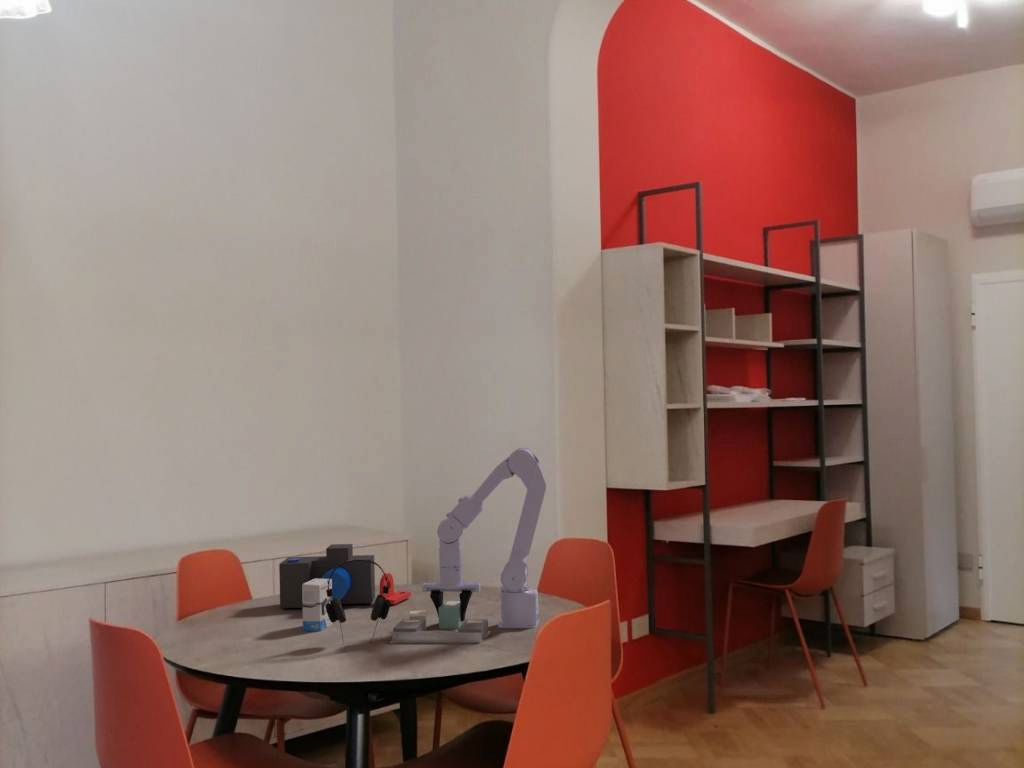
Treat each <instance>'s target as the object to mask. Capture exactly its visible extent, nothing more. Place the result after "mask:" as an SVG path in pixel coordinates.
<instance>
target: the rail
mask: <svg viewBox="0 0 1024 768" xmlns="http://www.w3.org/2000/svg"><path fill="white" fill-rule="evenodd" d="M455 631H456V630H440V631H393V630H392V631H391V641H392V642H411V644H412V643H417V644H418V643H421V644H422V643H425V644H427V643H429V644H431V643H433V644H434V643H438V644H440V643H442V644H443V643H444V644H447V643H450V644H455V643H456V644H460V643H461V644H475V643H476V644H481V643H482V642H483V641H482V638H481V632H455Z"/></svg>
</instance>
